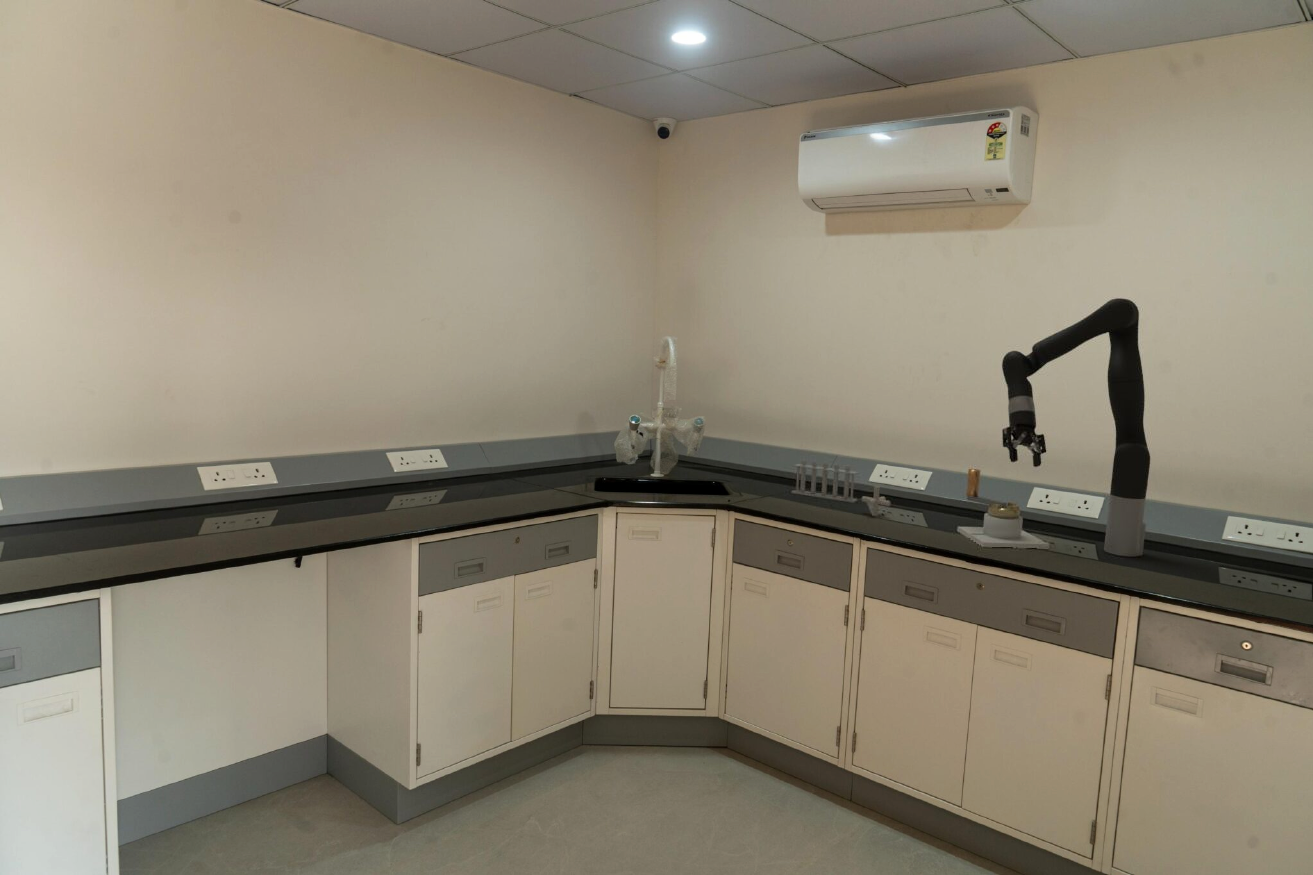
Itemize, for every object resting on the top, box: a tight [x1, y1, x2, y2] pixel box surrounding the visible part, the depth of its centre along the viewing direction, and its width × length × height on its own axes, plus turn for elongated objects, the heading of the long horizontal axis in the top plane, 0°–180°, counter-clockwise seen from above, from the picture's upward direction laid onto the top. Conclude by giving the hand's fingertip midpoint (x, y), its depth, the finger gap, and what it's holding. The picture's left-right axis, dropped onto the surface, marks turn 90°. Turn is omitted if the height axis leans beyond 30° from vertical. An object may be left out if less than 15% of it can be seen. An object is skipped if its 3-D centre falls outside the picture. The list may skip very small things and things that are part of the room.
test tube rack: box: [790, 459, 860, 504], centre depth 321 cm, size 25×4×13 cm, turn 55°
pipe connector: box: [861, 485, 891, 517], centre depth 292 cm, size 10×10×10 cm
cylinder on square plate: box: [956, 512, 1050, 550], centre depth 263 cm, size 20×20×8 cm
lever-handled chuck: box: [966, 468, 1021, 519], centre depth 266 cm, size 18×9×12 cm, turn 32°
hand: (1025, 463), depth 256 cm, fingers open, 8 cm apart
